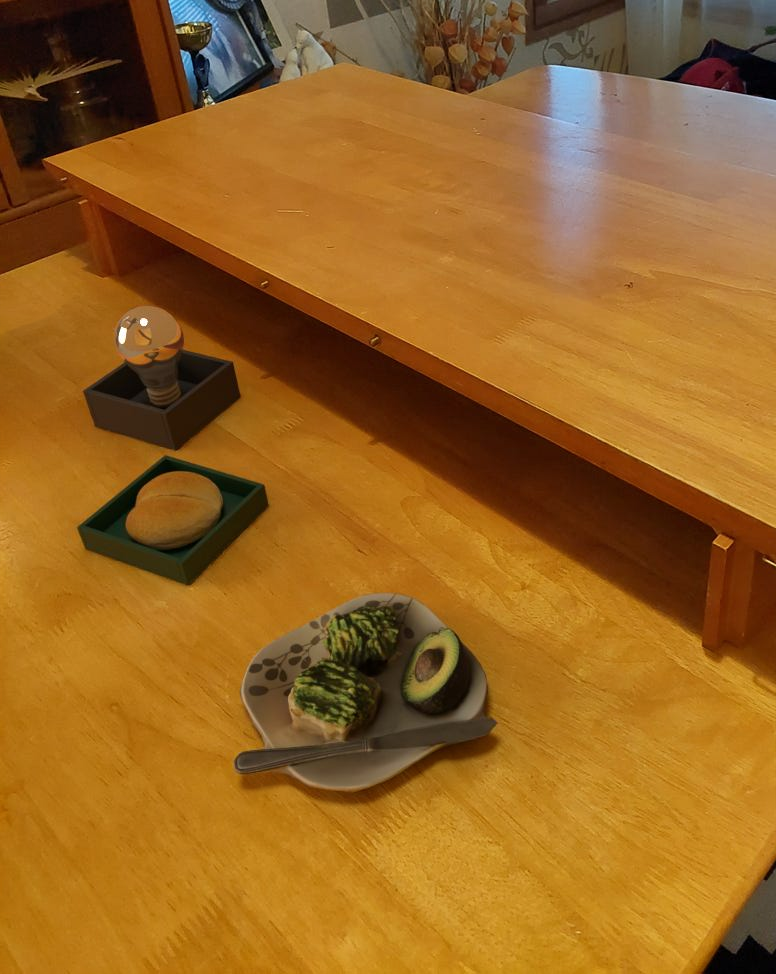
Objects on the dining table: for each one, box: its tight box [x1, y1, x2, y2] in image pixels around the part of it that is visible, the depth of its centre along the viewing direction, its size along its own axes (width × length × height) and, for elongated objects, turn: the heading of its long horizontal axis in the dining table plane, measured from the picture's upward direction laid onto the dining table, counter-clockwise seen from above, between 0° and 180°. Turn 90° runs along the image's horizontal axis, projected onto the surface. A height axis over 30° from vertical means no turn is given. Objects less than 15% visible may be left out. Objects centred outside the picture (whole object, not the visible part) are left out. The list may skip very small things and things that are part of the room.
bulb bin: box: [82, 349, 241, 451], centre depth 101 cm, size 11×11×5 cm
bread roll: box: [126, 471, 223, 550], centre depth 85 cm, size 8×9×4 cm
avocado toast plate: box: [233, 592, 499, 794], centre depth 68 cm, size 19×18×5 cm
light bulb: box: [113, 304, 185, 409], centre depth 99 cm, size 7×7×12 cm
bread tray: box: [76, 454, 270, 586], centre depth 86 cm, size 12×12×3 cm
